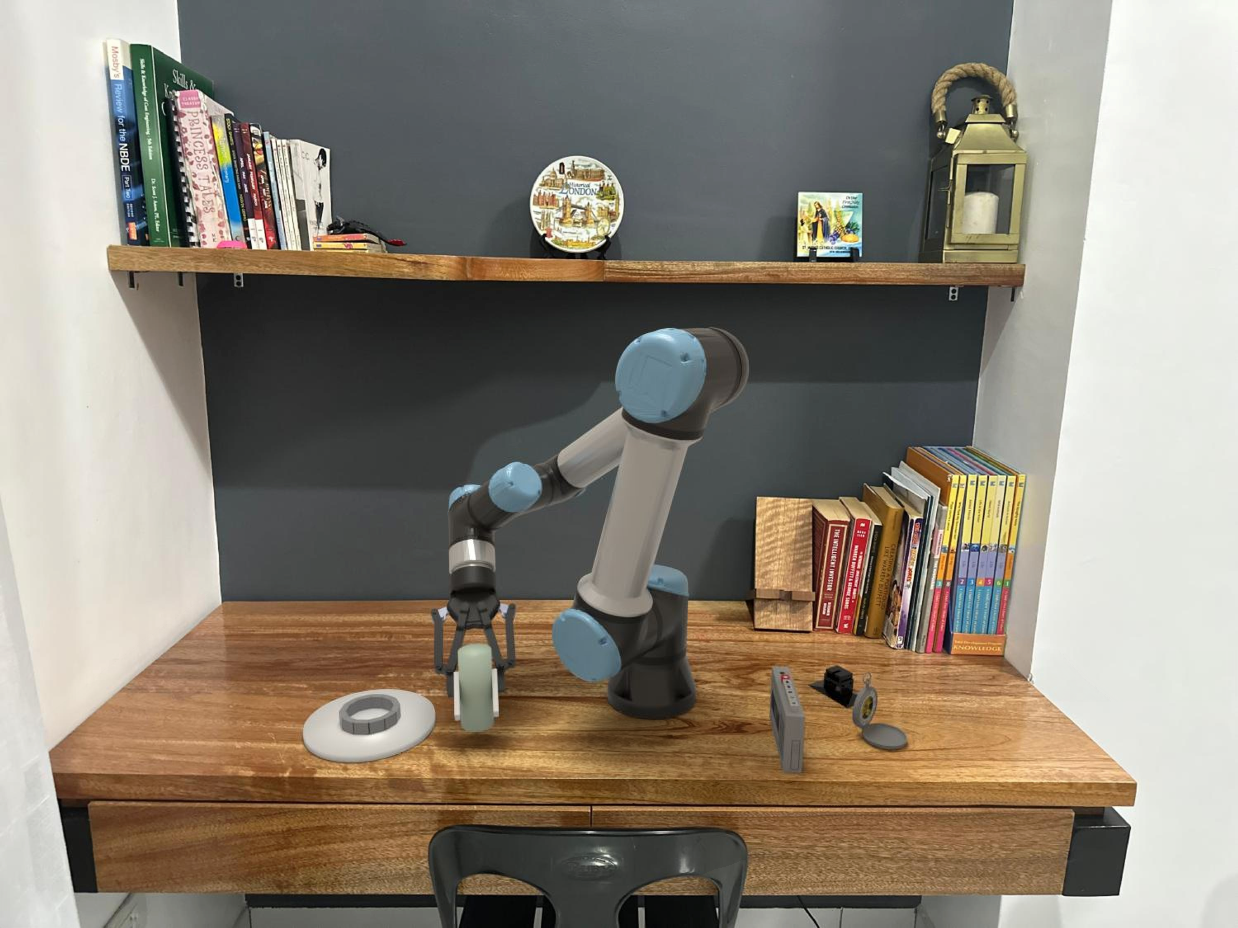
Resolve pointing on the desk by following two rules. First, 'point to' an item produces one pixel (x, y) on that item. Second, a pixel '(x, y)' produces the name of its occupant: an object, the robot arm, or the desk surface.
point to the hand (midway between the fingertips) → (476, 715)
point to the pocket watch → (875, 732)
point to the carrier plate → (372, 744)
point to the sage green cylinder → (476, 687)
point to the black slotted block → (837, 686)
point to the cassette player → (787, 720)
